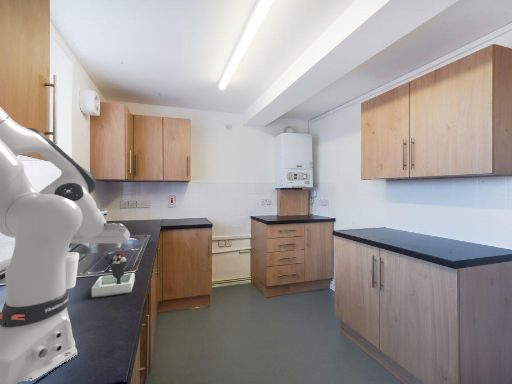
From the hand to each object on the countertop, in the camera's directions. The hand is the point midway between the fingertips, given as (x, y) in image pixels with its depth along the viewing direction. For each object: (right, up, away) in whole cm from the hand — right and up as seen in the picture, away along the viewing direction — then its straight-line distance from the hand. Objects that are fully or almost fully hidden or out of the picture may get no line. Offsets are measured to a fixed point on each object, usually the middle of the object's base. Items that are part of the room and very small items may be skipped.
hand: (105, 246), depth 96 cm
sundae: (+1, -18, +8) cm, 20 cm away
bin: (-1, -18, +8) cm, 20 cm away
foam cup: (-22, -19, +10) cm, 30 cm away
